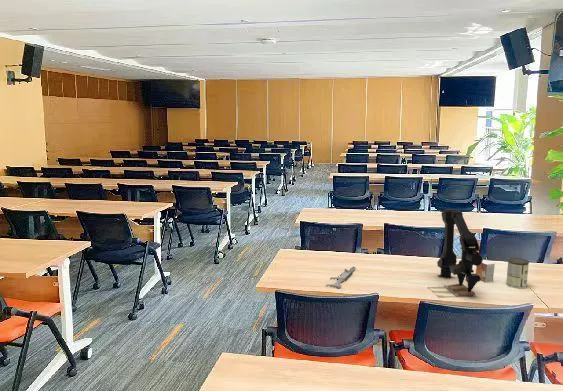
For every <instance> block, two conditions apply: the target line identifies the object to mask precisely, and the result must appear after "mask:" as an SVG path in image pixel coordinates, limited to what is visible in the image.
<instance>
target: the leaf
mask: <svg viewBox="0 0 563 391" xmlns="http://www.w3.org/2000/svg"><path fill="white" fill-rule="evenodd" d="M447 286H448V287H449V288H448V289H447V290H448V291H450V292H451V293H452V294H453V293H454V292H455V293H457V294H458V295H459V296H460V297H461V298H463V297H470V296H476V292H475V291H473V289H472V290H471V292H468V286H466V285H464V283H463V284H462V285H461V286H460V285H459V283H456V284H451V285H449V284H448V285H447ZM460 297H459V298H460Z"/></svg>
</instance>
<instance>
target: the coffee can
mask: <svg viewBox="0 0 563 391" xmlns="http://www.w3.org/2000/svg"><path fill="white" fill-rule="evenodd" d="M529 263H530V261H529V260H528V259H526V258H521V257H520V258H519V257H509V258H508V259H507V269H506V270H507V271H506V272H507V273H506V285H507V286H508V287H509V288H513V289H526V288H527V287H528V276H529V275H528V274H529Z"/></svg>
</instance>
